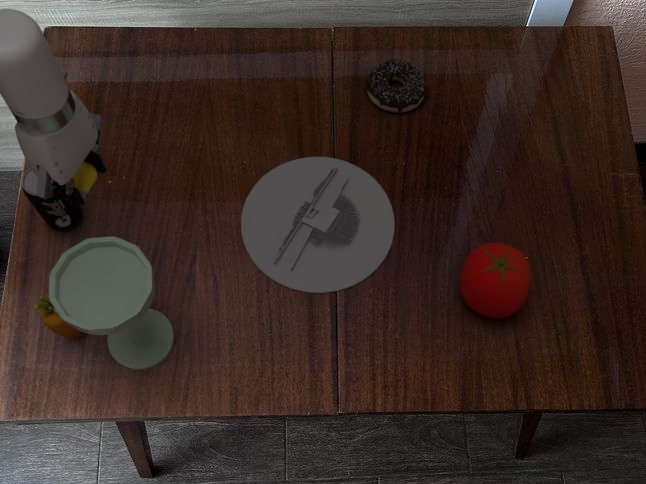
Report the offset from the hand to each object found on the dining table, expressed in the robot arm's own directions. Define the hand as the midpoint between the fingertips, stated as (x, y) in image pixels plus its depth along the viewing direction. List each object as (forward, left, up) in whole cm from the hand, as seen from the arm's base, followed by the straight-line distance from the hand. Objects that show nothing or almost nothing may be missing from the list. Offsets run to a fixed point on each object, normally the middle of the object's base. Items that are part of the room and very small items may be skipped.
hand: (85, 184), depth 104 cm
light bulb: (0, 0, -1) cm, 1 cm away
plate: (+29, +19, -21) cm, 41 cm away
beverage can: (-13, +1, -21) cm, 25 cm away
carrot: (+1, -17, -21) cm, 27 cm away
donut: (+31, +52, -21) cm, 65 cm away
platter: (+11, -14, 0) cm, 18 cm away
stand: (+11, -14, -21) cm, 27 cm away
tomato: (+62, +18, -21) cm, 68 cm away
